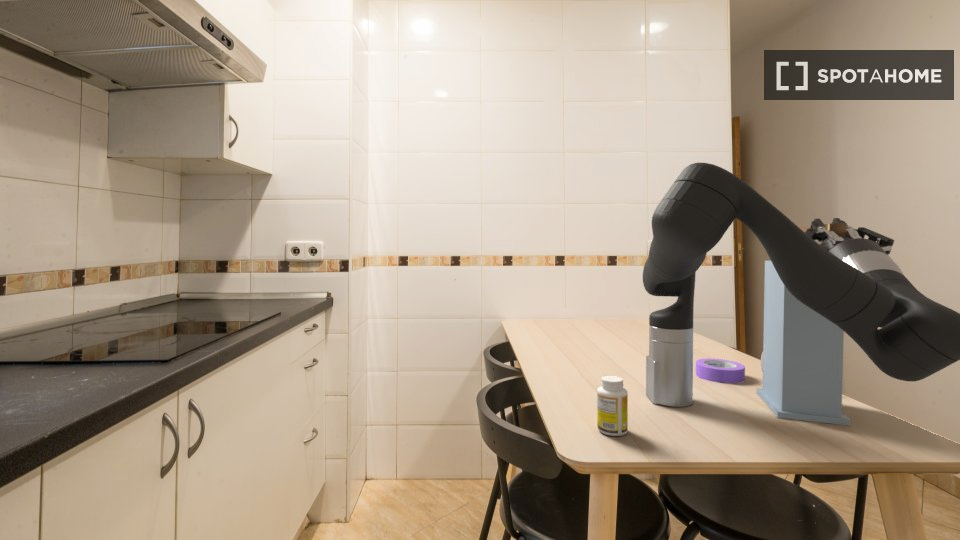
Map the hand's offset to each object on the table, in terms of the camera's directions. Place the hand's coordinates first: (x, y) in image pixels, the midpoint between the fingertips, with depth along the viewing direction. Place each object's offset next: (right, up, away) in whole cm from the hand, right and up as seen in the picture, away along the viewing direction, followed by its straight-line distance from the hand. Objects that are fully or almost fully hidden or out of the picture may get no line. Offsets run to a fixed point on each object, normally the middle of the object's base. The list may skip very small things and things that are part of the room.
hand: (824, 222), depth 80 cm
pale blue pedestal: (+4, -39, +12) cm, 41 cm away
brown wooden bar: (+2, -2, +6) cm, 7 cm away
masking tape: (0, -39, +36) cm, 53 cm away
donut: (+11, -38, +29) cm, 49 cm away
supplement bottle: (-40, -40, +1) cm, 57 cm away
